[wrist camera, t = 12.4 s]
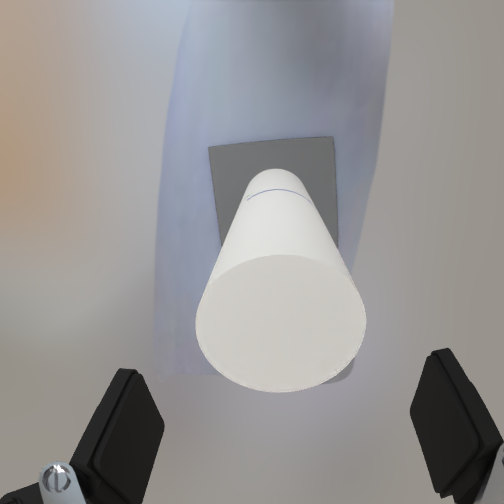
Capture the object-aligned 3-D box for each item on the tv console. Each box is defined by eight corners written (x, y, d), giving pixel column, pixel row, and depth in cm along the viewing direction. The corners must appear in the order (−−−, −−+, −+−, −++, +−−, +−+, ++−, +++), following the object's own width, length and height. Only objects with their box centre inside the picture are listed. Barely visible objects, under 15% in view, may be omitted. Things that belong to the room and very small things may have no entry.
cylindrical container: (316, 214, 36) (382, 361, 13) (261, 238, 38) (243, 406, 15) (291, 158, 34) (333, 223, 11) (234, 184, 35) (163, 295, 12)
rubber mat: (209, 147, 35) (208, 147, 34) (331, 136, 33) (333, 136, 33) (224, 259, 40) (223, 261, 39) (336, 251, 39) (337, 253, 38)
